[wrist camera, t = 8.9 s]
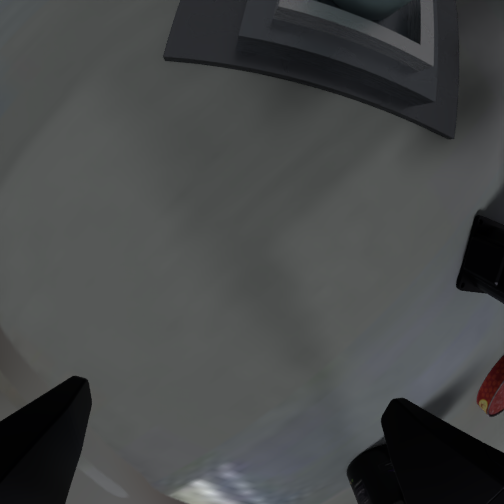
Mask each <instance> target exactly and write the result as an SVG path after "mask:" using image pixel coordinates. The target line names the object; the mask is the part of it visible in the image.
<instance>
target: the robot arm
mask: <svg viewBox="0 0 504 504" xmlns="http://www.w3.org/2000/svg"><path fill="white" fill-rule="evenodd" d="M479 221H480V222H479ZM456 287H457V288H458V289H459V290H461V291H470V292H478V293H487V294H489V295H490V296H492V297H494V298H495V299H497V300H498V301H500V302H502V303H503V304H504V225H502V224H500V223H498V222H495V221H493V220H490V219H488V218H486V217H483V216H480V215H477V216H476V217H475V220H474V224H473V228H472V232H471V236H470V240H469V244H468V247H467V251H466V255H465V258H464V261H463V265H462V268H461V271H460V274H459V277H458V280H457V284H456ZM91 406H92V399H91V393H90V387H89V382H88V380H87V379H86V378H82V377H79V376H72V377H70V378H69V379H67V380H66V381H64V382H62V383H61V384H59V385H58V386H56V387H54V388H53V389H51V390H50V391H48V392H47V393H45V394H43V395H42V396H40V397H39V398H37V399H35V400H34V401H32V402H31V403H29V404H27V405H26V406H24V407H23V408H21V409H19V410H18V411H16V412H15V413H13V414H11V415H10V416H8V417H7V418H5V419H3V420H2V421H0V504H65V502H66V499H67V496H68V492H69V489H70V485H71V482H72V479H73V476H74V472H75V470H76V467H77V464H78V461H79V458H80V454H81V451H82V447H83V442H84V437H85V432H86V428H87V424H88V419H89V415H90V411H91ZM381 424H382V428H383V432H384V436H385V440H386V444H387V448H388V452H389V455H390V459H391V462H392V465H393V468H394V471H395V473H396V476H397V479H398V482H399V485H400V488H401V490H402V493H403V496H404V499H405V502H406V504H504V453H503V452H501V451H499V450H497V449H495V448H493V447H491V446H489V445H487V444H485V443H483V442H481V441H480V440H478V439H476V438H474V437H472V436H470V435H468V434H467V433H465V432H463V431H461V430H459V429H457V428H456V427H454V426H452V425H450V424H448V423H447V422H445V421H443V420H441V419H440V418H438V417H436V416H434V415H433V414H431V413H429V412H427V411H426V410H424V409H422V408H420V407H419V406H417V405H415V404H414V403H412V402H410V401H408V400H407V399H405V398H396V399H393V400H391V401H390V403H389V405H388V407H387V408H386V410H385V412H384V414H383V415H382V418H381Z"/></svg>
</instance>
